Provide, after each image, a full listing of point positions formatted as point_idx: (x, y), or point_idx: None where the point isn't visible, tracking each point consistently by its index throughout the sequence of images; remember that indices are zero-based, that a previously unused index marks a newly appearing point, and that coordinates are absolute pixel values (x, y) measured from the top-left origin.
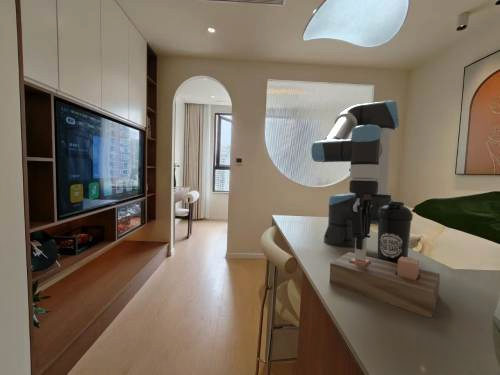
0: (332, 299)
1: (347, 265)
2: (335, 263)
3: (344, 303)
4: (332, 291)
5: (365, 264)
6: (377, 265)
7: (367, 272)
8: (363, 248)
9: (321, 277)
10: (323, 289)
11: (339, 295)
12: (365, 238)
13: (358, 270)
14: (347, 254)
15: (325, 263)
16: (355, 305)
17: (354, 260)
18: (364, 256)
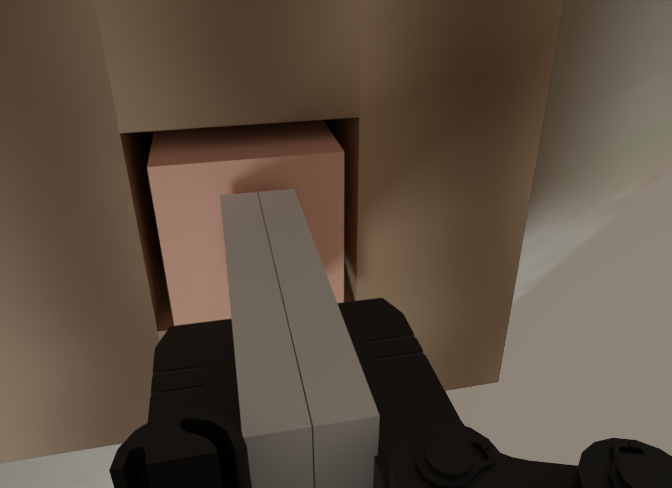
0: (642, 150)
1: (455, 267)
2: (481, 353)
3: (655, 72)
4: (538, 203)
5: (318, 147)
6: (174, 30)
7: (527, 37)
8: (328, 298)
9: None
10: (544, 252)
11: (566, 145)
12: (309, 435)
13: (528, 133)
14: (102, 428)
15: (99, 479)
16: (646, 3)
17: (332, 275)
18: (290, 217)
